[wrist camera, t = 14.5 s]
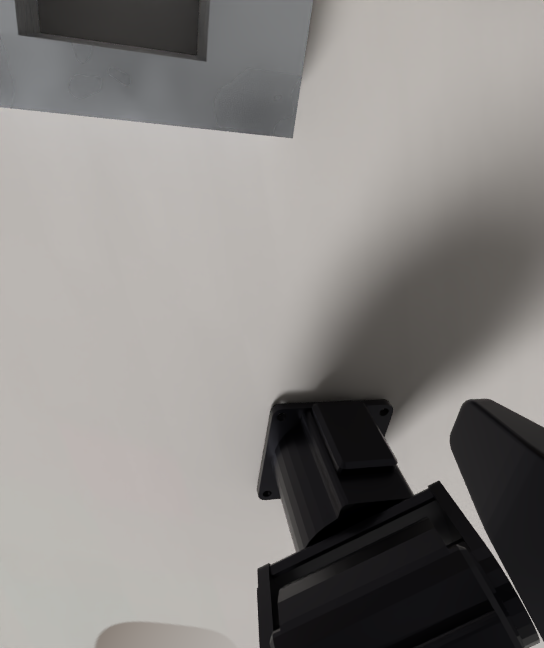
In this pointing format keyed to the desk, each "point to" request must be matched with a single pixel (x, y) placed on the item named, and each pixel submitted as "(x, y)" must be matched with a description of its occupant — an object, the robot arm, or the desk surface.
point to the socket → (165, 70)
